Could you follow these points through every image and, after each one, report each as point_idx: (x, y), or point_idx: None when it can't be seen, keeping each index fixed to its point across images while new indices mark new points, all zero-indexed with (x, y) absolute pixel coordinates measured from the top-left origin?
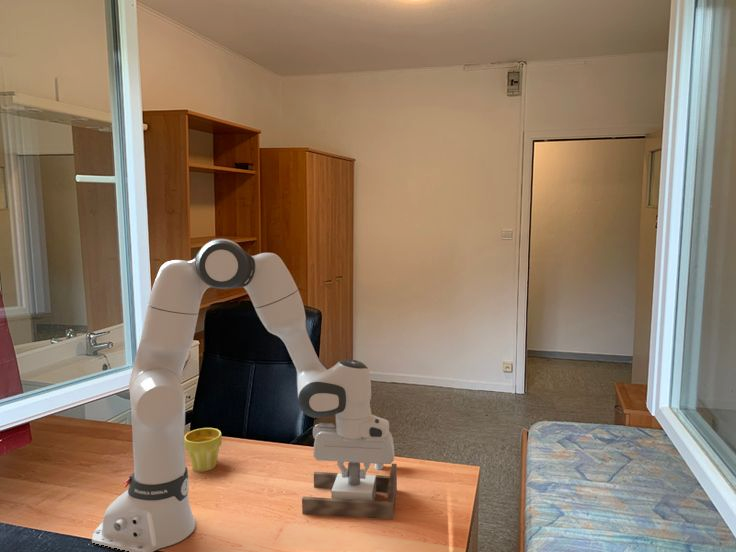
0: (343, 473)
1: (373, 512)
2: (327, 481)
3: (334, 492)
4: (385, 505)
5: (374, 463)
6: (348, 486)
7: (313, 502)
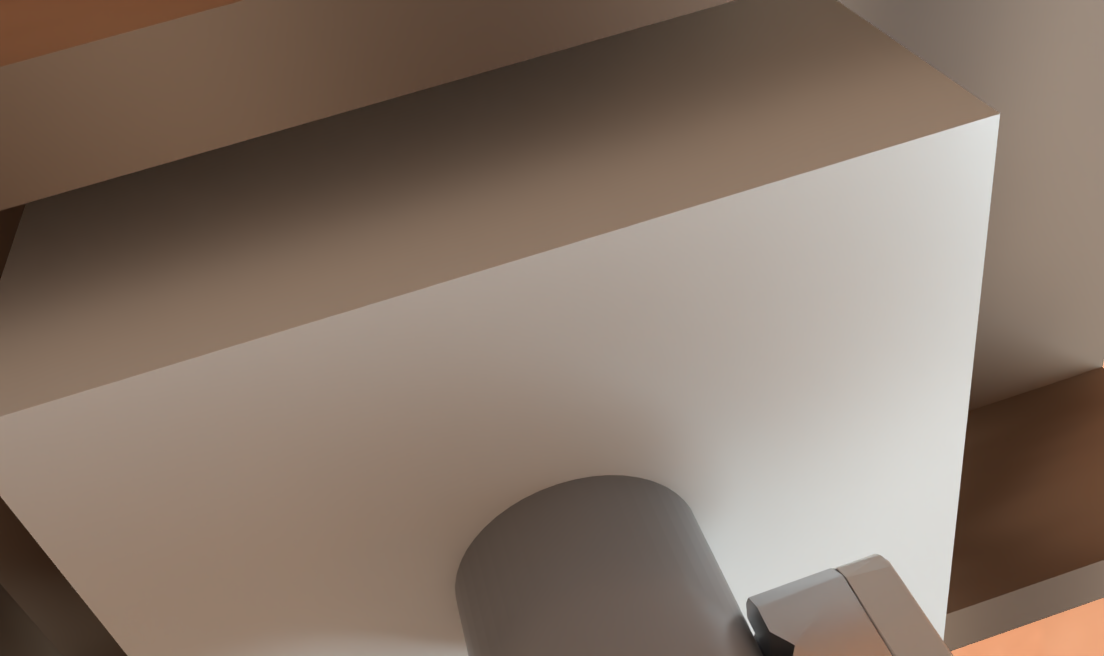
0: (903, 650)
1: None
2: (997, 495)
3: (903, 118)
4: None
5: None
6: (651, 423)
7: None
